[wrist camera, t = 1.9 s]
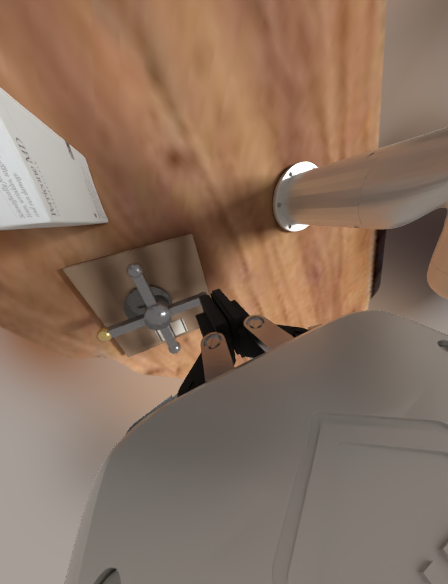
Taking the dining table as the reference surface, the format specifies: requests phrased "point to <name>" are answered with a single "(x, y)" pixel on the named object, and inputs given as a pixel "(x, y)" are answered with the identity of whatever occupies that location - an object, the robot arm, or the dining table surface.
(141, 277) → the capstan
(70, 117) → the dining table surface
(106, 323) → the board
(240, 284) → the dining table surface
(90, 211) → the skincare box
